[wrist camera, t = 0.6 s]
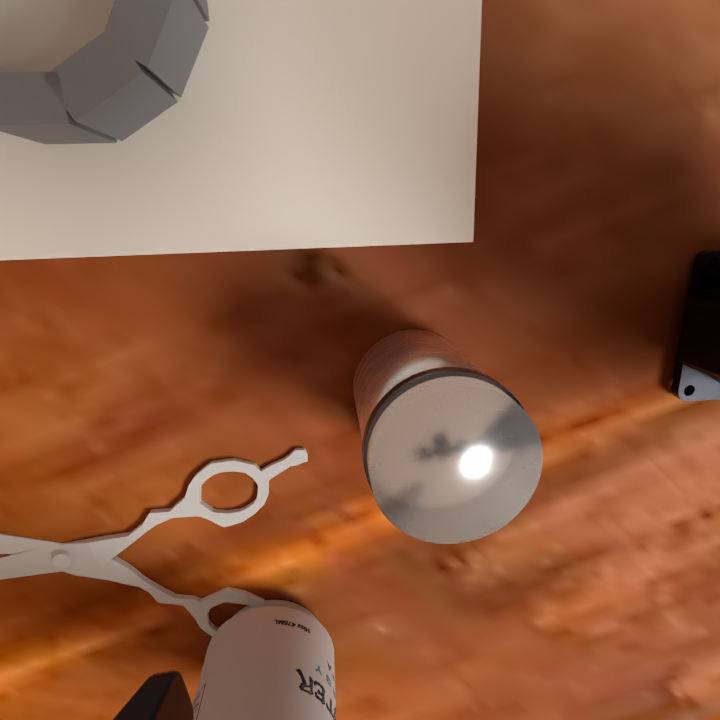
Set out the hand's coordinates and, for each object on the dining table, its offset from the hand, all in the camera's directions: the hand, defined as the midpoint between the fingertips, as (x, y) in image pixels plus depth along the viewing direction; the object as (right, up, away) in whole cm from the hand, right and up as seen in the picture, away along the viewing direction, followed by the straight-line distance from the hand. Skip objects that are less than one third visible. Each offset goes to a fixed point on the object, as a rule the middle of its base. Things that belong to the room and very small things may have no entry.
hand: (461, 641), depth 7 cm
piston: (+1, +3, +12) cm, 13 cm away
